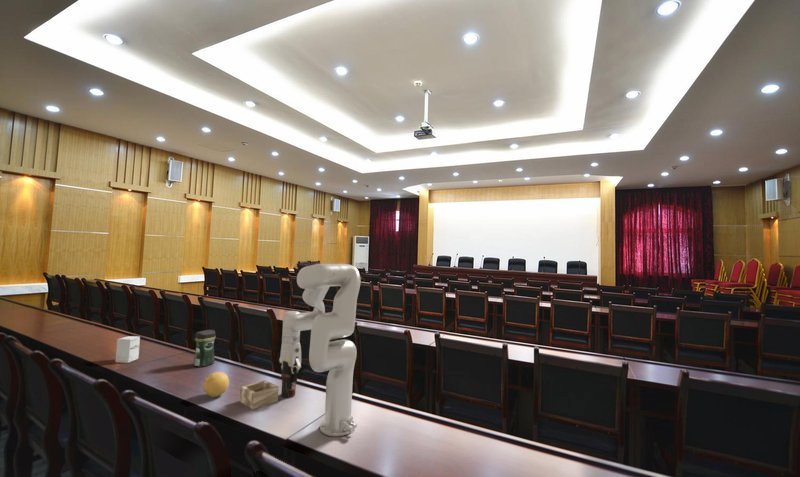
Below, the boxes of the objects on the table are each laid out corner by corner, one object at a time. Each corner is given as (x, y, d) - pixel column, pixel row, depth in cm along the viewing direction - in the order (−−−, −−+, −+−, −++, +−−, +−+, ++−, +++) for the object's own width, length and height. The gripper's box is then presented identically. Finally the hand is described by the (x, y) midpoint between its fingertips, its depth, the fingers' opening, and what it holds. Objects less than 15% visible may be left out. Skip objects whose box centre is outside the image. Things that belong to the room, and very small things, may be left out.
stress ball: (228, 393, 154) (215, 376, 156) (237, 380, 150) (224, 363, 153) (208, 405, 145) (194, 387, 147) (216, 392, 141) (203, 373, 144)
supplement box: (128, 363, 186) (130, 339, 186) (114, 362, 186) (116, 338, 186) (138, 358, 193) (140, 336, 194) (126, 358, 193) (127, 335, 194)
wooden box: (277, 401, 146) (278, 386, 146) (252, 409, 137) (253, 394, 137) (264, 393, 153) (264, 380, 153) (239, 401, 144) (240, 386, 144)
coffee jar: (208, 361, 194) (210, 328, 195) (216, 363, 190) (218, 329, 191) (190, 365, 185) (192, 330, 186) (199, 368, 181) (201, 333, 182)
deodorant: (291, 398, 149) (292, 363, 149) (278, 396, 150) (280, 362, 151) (297, 393, 154) (299, 359, 155) (285, 391, 156) (287, 358, 156)
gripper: (309, 341, 151) (307, 383, 150) (287, 334, 162) (285, 373, 161) (294, 344, 145) (292, 387, 144) (272, 337, 156) (270, 377, 155)
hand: (289, 379), depth 152 cm, fingers closed on deodorant, 6 cm apart
